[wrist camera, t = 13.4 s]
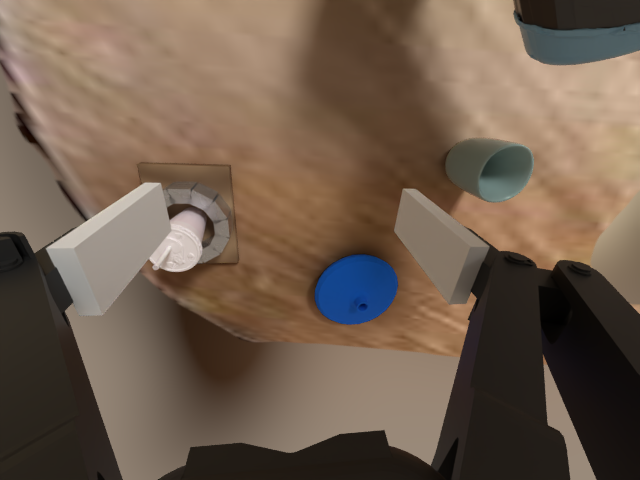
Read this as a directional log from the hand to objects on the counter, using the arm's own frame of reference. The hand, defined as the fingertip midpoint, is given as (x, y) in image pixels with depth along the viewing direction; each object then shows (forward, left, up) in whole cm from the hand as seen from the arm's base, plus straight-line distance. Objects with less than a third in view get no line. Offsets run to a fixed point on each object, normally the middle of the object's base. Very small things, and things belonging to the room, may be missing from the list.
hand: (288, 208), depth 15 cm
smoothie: (+12, -13, -26) cm, 31 cm away
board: (+12, -13, -27) cm, 32 cm away
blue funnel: (+26, +14, -27) cm, 40 cm away
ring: (+12, -13, -26) cm, 31 cm away
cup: (+2, +29, -27) cm, 40 cm away
